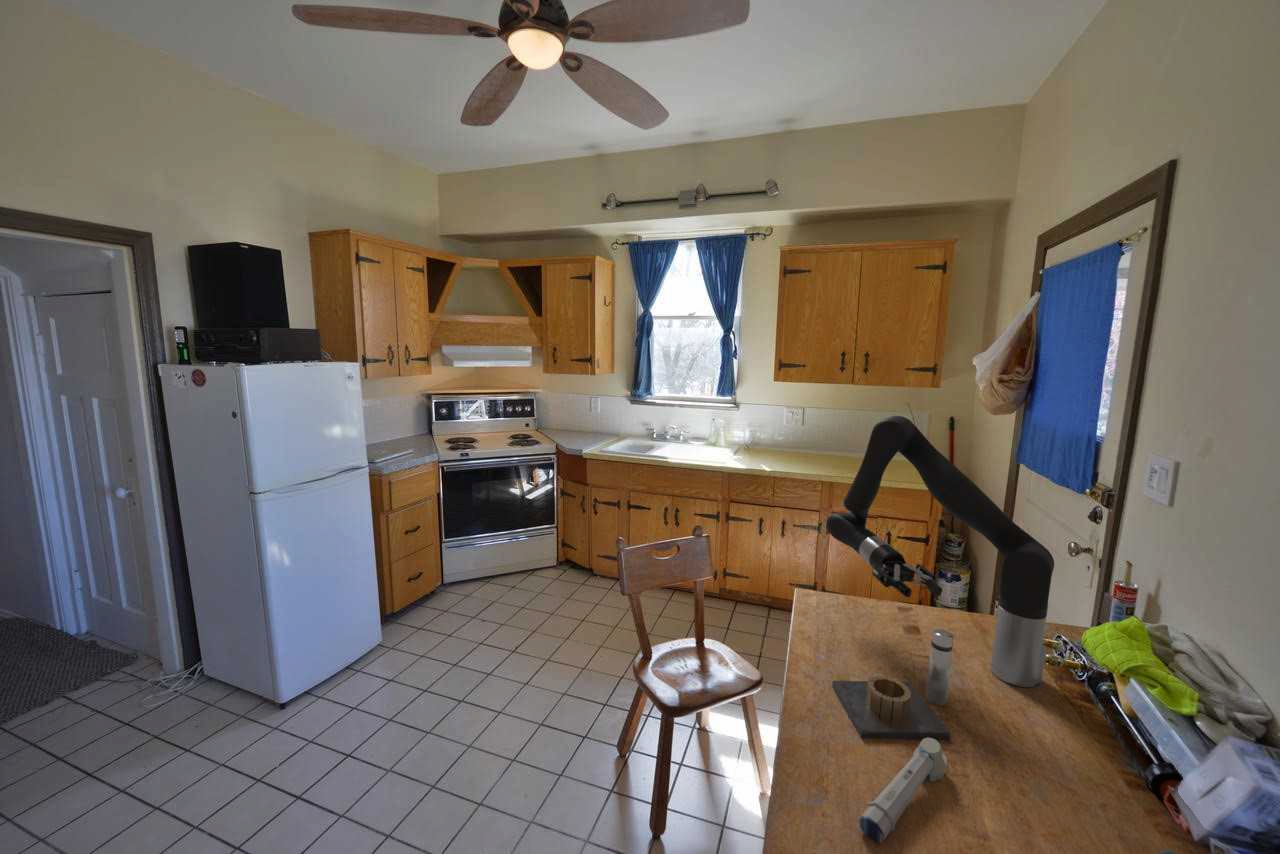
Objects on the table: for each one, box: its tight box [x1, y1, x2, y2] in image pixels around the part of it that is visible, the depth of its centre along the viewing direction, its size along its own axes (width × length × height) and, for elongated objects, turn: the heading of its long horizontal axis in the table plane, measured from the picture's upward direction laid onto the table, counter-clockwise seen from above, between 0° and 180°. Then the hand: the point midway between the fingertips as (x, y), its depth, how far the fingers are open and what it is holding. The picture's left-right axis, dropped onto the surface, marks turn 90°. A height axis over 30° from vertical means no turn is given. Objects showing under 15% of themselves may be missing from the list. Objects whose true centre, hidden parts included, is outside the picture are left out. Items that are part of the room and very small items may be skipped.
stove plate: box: [831, 675, 951, 740], centre depth 111 cm, size 18×16×6 cm
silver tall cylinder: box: [925, 628, 954, 706], centre depth 114 cm, size 4×4×16 cm
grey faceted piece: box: [858, 738, 948, 844], centre depth 90 cm, size 5×7×25 cm
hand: (925, 593), depth 121 cm, fingers open, 8 cm apart
